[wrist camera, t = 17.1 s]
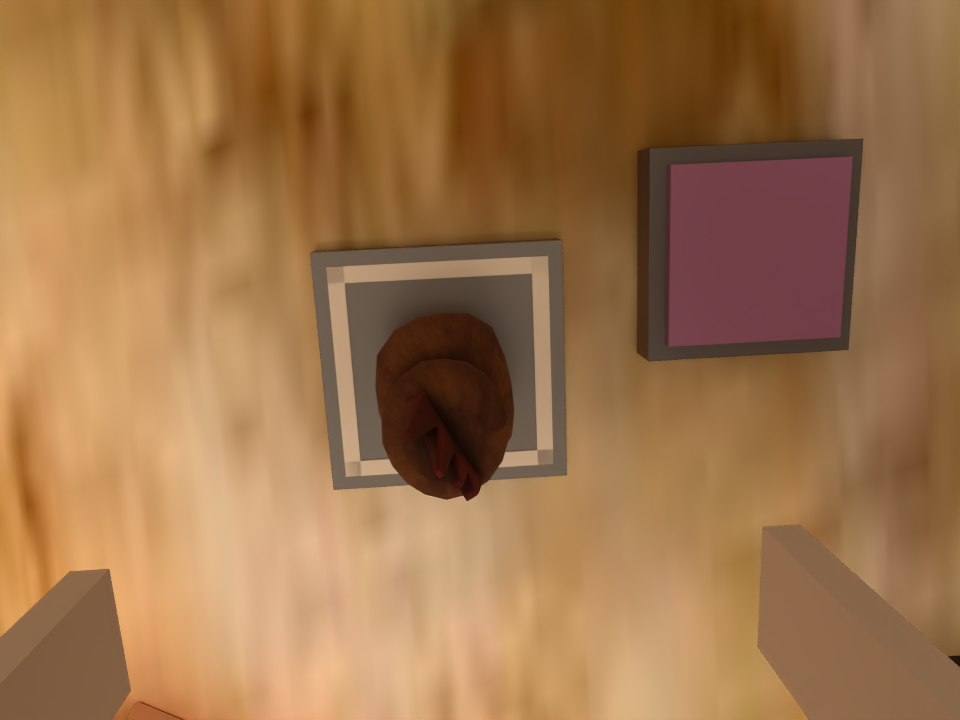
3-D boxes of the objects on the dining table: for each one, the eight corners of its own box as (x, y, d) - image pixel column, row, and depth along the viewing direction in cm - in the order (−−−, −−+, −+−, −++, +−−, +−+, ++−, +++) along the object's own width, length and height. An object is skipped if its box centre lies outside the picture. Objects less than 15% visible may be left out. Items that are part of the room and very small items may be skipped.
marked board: (557, 239, 34) (562, 240, 33) (562, 466, 37) (567, 476, 36) (314, 251, 34) (309, 252, 32) (337, 480, 36) (333, 490, 35)
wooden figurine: (373, 313, 33) (315, 396, 19) (489, 290, 33) (524, 354, 19) (402, 444, 35) (371, 614, 20) (514, 421, 35) (564, 576, 20)
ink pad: (839, 142, 34) (871, 137, 31) (826, 342, 36) (855, 352, 33) (638, 151, 33) (653, 147, 31) (637, 352, 36) (652, 363, 33)
